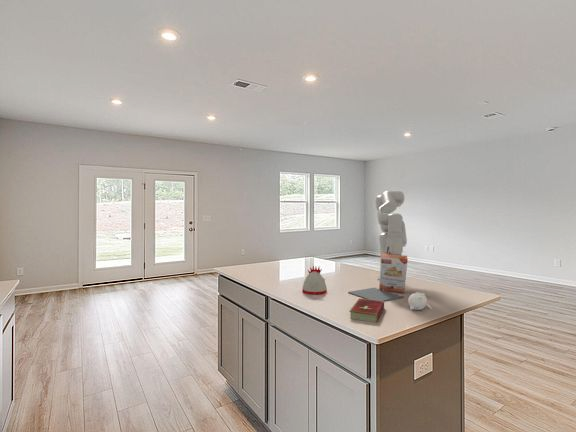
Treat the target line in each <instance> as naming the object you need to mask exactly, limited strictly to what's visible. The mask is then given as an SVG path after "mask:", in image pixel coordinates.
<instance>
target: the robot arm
mask: <svg viewBox="0 0 576 432" xmlns="http://www.w3.org/2000/svg"><path fill="white" fill-rule="evenodd" d="M404 202H405V193H404V192H403V191H400V190H389V191H388V190H386V191H384V192H383V193H382V194H380V195H377V196H376V197H375V207H376V210H377V217H376V218H377V223H378V224H379V225H380V227H379V228H380V230H381V232H382V233H381V234H380V235H379V236H378V237H379V238H378V242H379V251H380V253H379V254H380V255H379V256H380V262H379V263H380V264H379V265H380V266H379V267H380V268H379V270H380V271H381V259H382V253H384V254H393V255H403V250H404V249H403V248H404V247H406V246H407V242H408V241H407V240H408V239H407V232H406V231H407V230H406V225H405V222H404V220H403V216H402V214H401V213H396V212H395V211H396V210H397V208H399V207H401V206H402V205H403V204H404ZM394 212H395V213H394ZM380 271H379V272H380ZM377 280H378V281H380V275H379V276H378V277H377Z"/></svg>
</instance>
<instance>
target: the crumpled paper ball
mask: <svg viewBox="0 0 576 432" xmlns="http://www.w3.org/2000/svg"><path fill="white" fill-rule="evenodd" d="M407 303H408V305H409V307H410V308H409V309H410V310H413V311H414V310H415V311H421V310H424V308H426V306H427V307H428V308H429V309H430V310H432V307H431V306H430V304H429V303H427V296H426V295H425V292H423V293H422V292H419V291H416V292H415V293H412V294H410V295H409V296H408V302H407Z"/></svg>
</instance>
